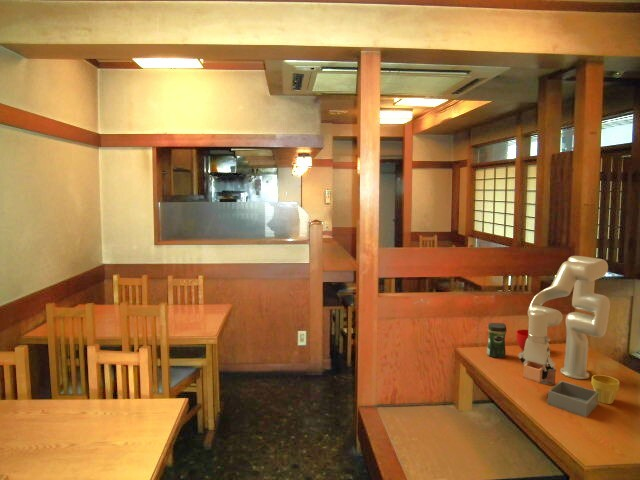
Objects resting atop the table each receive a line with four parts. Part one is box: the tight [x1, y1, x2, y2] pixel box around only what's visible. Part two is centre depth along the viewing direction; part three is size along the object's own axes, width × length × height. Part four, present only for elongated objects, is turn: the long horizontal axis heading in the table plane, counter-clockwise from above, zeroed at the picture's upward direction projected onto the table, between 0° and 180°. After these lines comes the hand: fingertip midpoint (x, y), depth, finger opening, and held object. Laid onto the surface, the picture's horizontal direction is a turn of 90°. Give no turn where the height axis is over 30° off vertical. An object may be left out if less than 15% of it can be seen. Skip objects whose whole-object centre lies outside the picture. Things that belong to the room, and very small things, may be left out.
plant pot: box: [591, 374, 621, 405], centre depth 193 cm, size 10×10×10 cm
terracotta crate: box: [522, 361, 548, 384], centre depth 198 cm, size 9×7×6 cm
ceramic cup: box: [515, 329, 528, 352], centre depth 251 cm, size 13×17×10 cm
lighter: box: [539, 363, 557, 386], centre depth 210 cm, size 8×3×10 cm, turn 71°
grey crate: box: [546, 380, 599, 418], centre depth 189 cm, size 15×15×6 cm
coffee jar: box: [486, 322, 507, 358], centre depth 243 cm, size 10×8×19 cm
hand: (535, 375), depth 199 cm, fingers closed on terracotta crate, 7 cm apart
